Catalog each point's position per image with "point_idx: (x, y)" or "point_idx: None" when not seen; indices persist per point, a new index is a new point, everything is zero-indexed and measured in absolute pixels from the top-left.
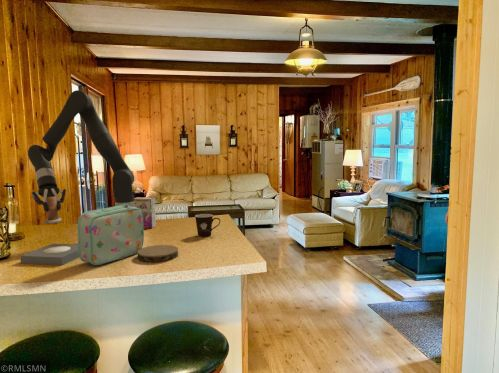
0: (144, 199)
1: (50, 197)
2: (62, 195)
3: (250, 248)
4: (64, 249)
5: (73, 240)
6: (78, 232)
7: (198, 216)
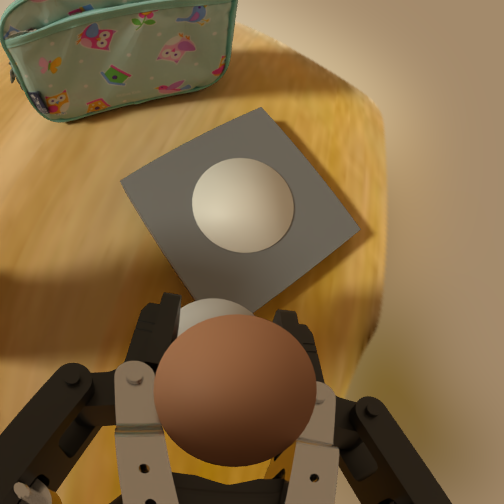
0: None
1: (265, 341)
2: (50, 420)
3: None
4: (222, 180)
5: (103, 434)
6: (236, 8)
7: None
